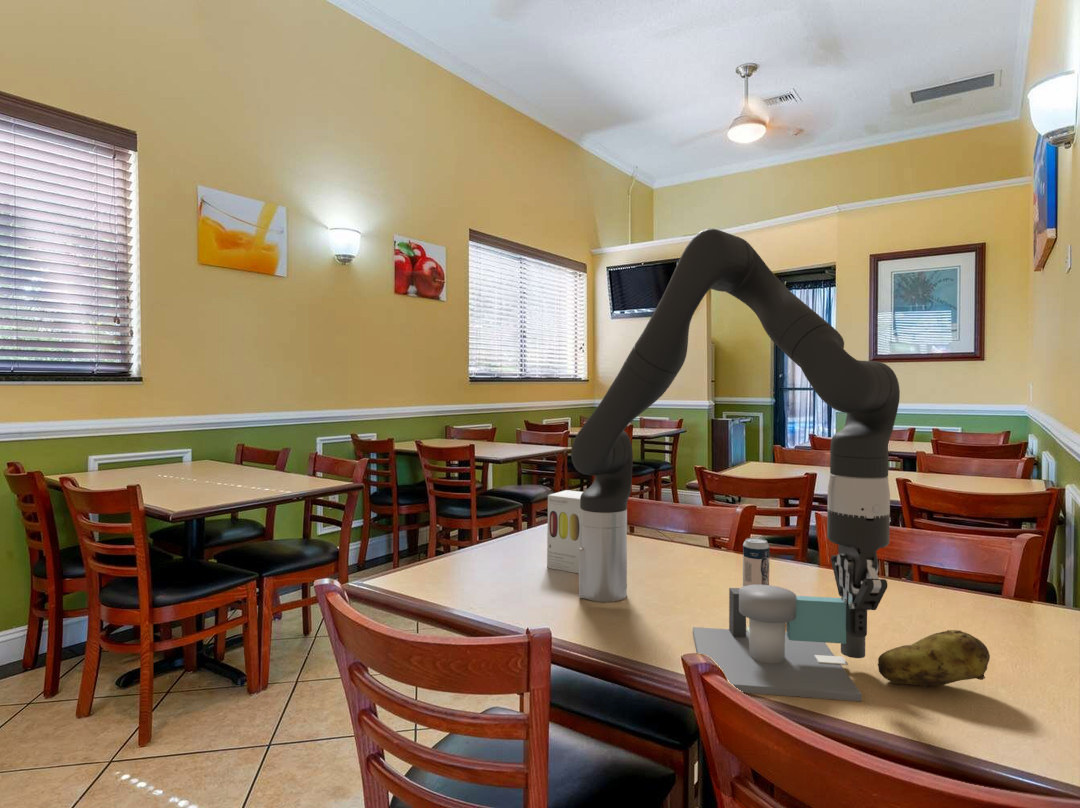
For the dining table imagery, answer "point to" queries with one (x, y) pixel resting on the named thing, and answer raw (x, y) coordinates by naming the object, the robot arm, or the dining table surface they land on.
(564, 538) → the supplement box
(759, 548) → the beer can
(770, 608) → the lever
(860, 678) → the dining table surface
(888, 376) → the robot arm
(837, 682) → the post base
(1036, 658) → the dining table surface
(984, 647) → the potato
